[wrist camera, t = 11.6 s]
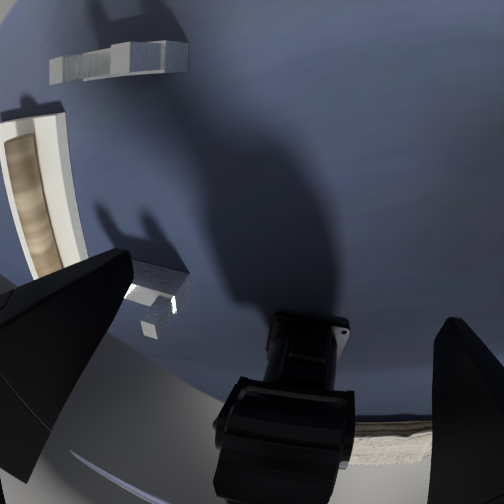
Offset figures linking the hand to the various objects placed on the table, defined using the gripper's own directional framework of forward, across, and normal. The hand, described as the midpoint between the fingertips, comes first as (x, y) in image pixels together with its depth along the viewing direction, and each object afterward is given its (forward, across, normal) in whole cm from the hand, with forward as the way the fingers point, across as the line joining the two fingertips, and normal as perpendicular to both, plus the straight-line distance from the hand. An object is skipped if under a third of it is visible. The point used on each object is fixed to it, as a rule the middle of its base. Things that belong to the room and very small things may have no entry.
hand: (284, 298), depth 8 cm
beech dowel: (+10, +25, +10) cm, 28 cm away
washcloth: (+14, -16, +34) cm, 40 cm away
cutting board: (+13, +26, +10) cm, 31 cm away
